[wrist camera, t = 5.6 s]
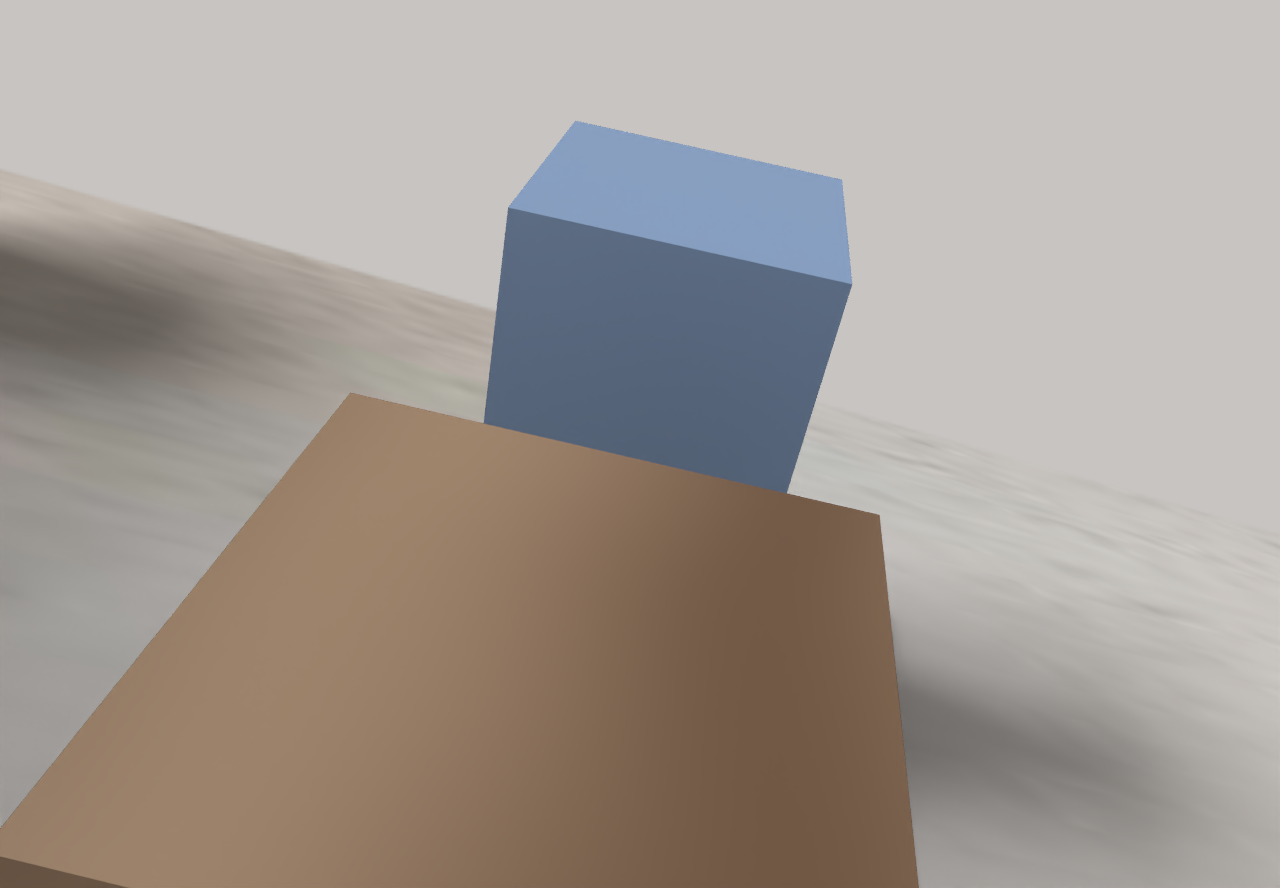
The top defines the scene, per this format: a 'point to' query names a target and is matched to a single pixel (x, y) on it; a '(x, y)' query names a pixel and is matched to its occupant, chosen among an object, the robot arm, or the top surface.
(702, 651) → the walnut block
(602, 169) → the blue block
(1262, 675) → the top surface
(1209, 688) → the top surface
